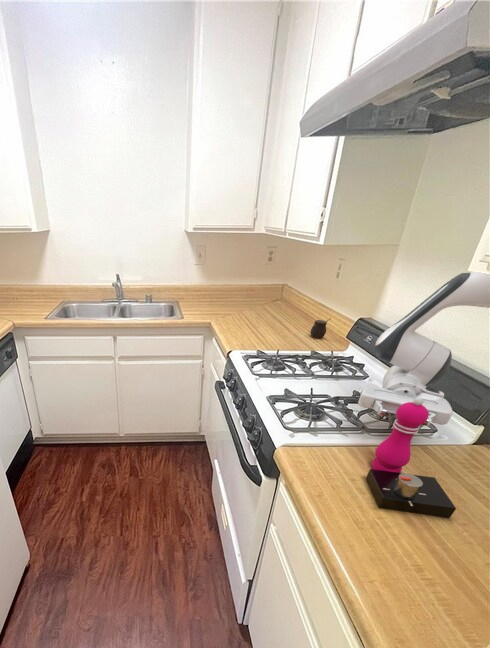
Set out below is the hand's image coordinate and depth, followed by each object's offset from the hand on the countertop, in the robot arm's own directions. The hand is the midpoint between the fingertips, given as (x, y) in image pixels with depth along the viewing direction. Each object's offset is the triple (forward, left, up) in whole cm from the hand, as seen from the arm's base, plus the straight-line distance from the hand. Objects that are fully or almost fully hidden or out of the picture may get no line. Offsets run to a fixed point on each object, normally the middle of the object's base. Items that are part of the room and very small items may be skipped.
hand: (403, 418), depth 84 cm
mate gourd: (+1, -102, -12) cm, 103 cm away
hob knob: (+3, +17, -9) cm, 20 cm away
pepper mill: (+2, +5, -12) cm, 13 cm away
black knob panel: (+1, +15, -12) cm, 19 cm away
